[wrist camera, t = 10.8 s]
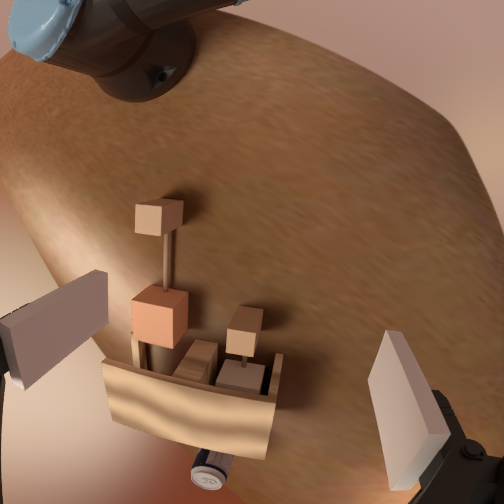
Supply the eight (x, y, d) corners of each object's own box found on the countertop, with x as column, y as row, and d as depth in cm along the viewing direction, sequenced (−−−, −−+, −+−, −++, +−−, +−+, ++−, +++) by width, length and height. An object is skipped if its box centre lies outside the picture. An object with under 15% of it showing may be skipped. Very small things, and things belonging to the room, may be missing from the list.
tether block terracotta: (152, 197, 43) (126, 203, 36) (193, 201, 42) (172, 207, 35) (151, 321, 48) (130, 342, 41) (187, 328, 47) (170, 352, 40)
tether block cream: (229, 303, 45) (216, 326, 38) (272, 310, 44) (267, 335, 37) (223, 388, 49) (212, 416, 42) (260, 395, 48) (254, 424, 41)
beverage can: (206, 419, 51) (185, 468, 40) (238, 423, 50) (222, 474, 39) (209, 440, 52) (191, 487, 41) (240, 443, 51) (226, 493, 40)
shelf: (137, 326, 48) (101, 362, 37) (283, 354, 45) (275, 403, 35) (142, 381, 51) (112, 420, 40) (273, 409, 48) (264, 460, 37)
